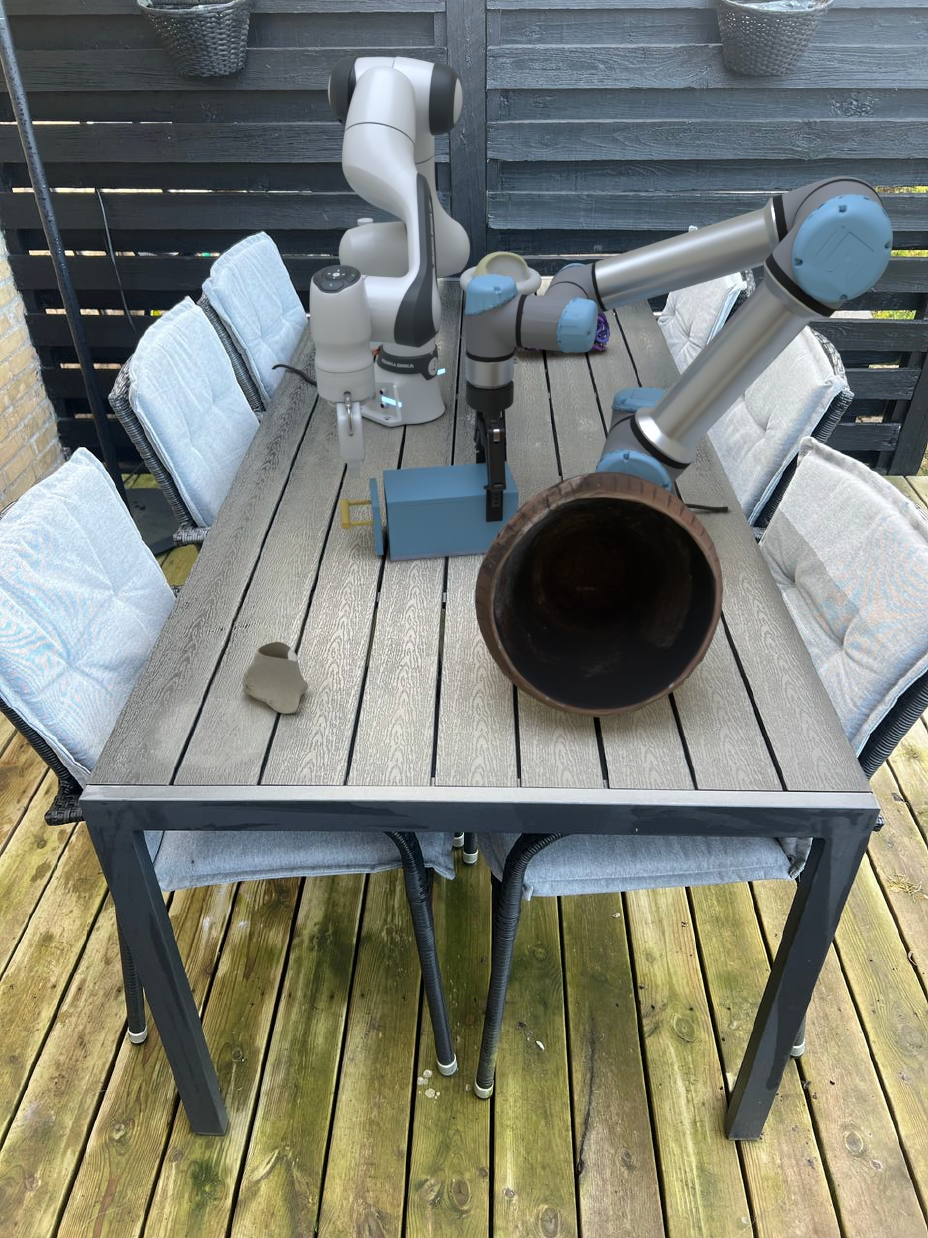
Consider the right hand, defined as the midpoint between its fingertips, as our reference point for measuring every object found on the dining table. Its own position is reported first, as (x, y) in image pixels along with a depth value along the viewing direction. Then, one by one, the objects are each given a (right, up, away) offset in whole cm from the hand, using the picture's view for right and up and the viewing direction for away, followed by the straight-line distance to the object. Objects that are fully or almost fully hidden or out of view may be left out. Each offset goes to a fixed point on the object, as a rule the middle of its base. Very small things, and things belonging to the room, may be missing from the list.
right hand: (488, 502), depth 158 cm
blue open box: (-7, -6, +3) cm, 9 cm away
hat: (+6, +64, +95) cm, 115 cm away
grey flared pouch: (-30, -31, -29) cm, 52 cm away
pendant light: (-27, +48, +74) cm, 92 cm away
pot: (+14, -25, -22) cm, 37 cm away
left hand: (-22, +6, -8) cm, 24 cm away
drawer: (-12, -6, +2) cm, 14 cm away
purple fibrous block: (+16, +46, +70) cm, 85 cm away
